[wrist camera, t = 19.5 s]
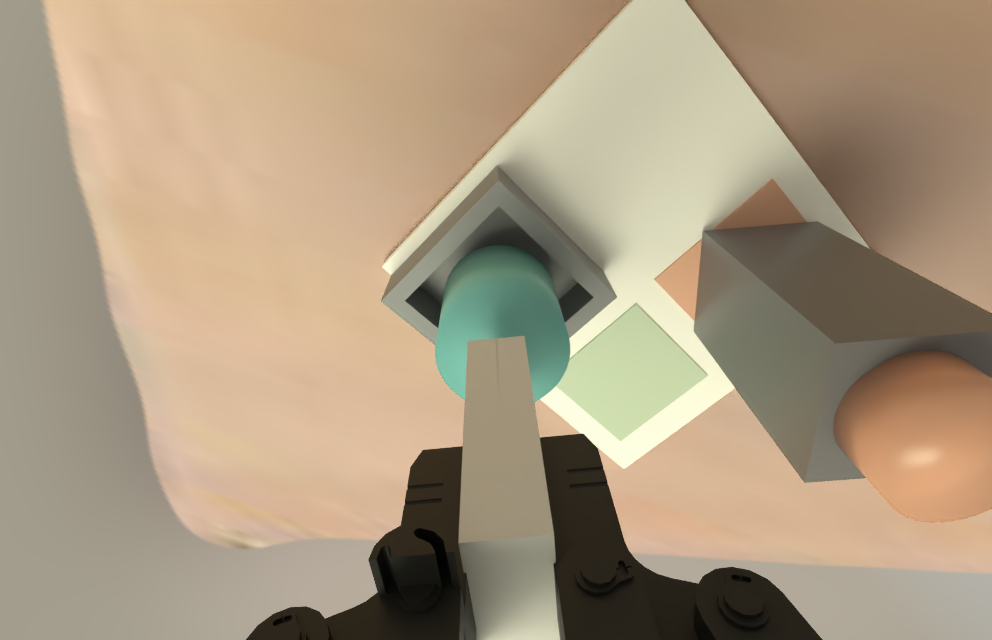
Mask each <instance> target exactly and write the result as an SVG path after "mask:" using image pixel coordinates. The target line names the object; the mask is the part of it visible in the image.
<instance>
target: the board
mask: <svg viewBox="0 0 992 640" xmlns="http://www.w3.org/2000/svg"><path fill="white" fill-rule="evenodd" d="M815 221H818V222H820V223H822V224H823V225H825V226H827V227H829V228H831V229H833V230H835V231H837V232H839V233H840V234H842V235H844V236H846V237H848V238H850V239H852V240H854V241H856V242H857V243H859V244H861V245H863V246H865V247H867V248H869V247H868V245H867V244H866V243H865V241H864V240H863V239H862V237H861V236H860V235H859V233H858V232H857V231H856V229H855V228H854V227H853V225H852V224H851V223H850V221H849V220H848V219H847V217H846V216H845V215H844V213H843V212H842V210H841V209H840V208H839V206H838V205H837V204H836V202H835V201H834V200H833V198H832V197H831V196H830V194H829V193H828V192H827V190H826V189H825V188H824V186H823V185H822V184H821V182H820V181H819V180H818V178H817V177H816V176H815V174H814V173H813V172H812V170H811V169H810V168H809V166H808V165H807V164H806V162H805V161H804V160H803V158H802V157H801V156H800V154H799V153H798V152H797V150H796V149H795V148H794V146H793V145H792V144H791V142H790V141H789V139H788V138H787V137H786V135H785V134H784V133H783V131H782V130H781V129H780V127H779V126H778V125H777V123H776V122H775V121H774V119H773V118H772V117H771V115H770V114H769V113H768V111H767V110H766V109H765V107H764V106H763V105H762V103H761V102H760V101H759V99H758V98H757V97H756V95H755V94H754V93H753V91H752V90H751V89H750V87H749V86H748V85H747V83H746V82H745V81H744V79H743V78H742V77H741V75H740V74H739V72H738V71H737V70H736V68H735V67H734V66H733V64H732V63H731V62H730V60H729V59H728V58H727V56H726V55H725V54H724V52H723V51H722V50H721V48H720V47H719V46H718V44H717V43H716V42H715V40H714V39H713V38H712V36H711V35H710V34H709V32H708V31H707V30H706V28H705V27H704V26H703V24H702V23H701V22H700V20H699V19H698V18H697V16H696V15H695V14H694V12H693V11H692V10H691V8H690V7H689V6H688V4H687V3H686V1H685V0H630V1H629V2H628V3H627V4H626V5H625V6H624V7H623V8H622V10H621V11H620V12H619V13H618V14H617V15H616V16H615V17H614V18H613V19H612V20H611V21H610V22H609V23H608V24H607V25H606V27H605V28H604V29H603V30H602V31H601V32H600V33H599V34H598V35H597V36H596V37H595V38H594V39H593V40H592V41H591V42H590V44H589V45H588V46H587V47H586V48H585V49H584V50H583V51H582V52H581V53H580V54H579V55H578V56H577V57H576V58H575V59H574V61H573V62H572V63H571V64H570V65H569V66H568V67H567V68H566V69H565V70H564V71H563V72H562V73H561V74H560V75H559V76H558V77H557V79H556V80H555V81H554V82H553V83H552V84H551V85H550V86H549V87H548V88H547V89H546V90H545V91H544V92H543V93H542V94H541V96H540V97H539V98H538V99H537V100H536V101H535V102H534V103H533V104H532V105H531V106H530V107H529V108H528V109H527V110H526V111H525V113H524V114H523V115H522V116H521V117H520V118H519V119H518V120H517V121H516V122H515V123H514V124H513V125H512V126H511V127H510V128H509V130H508V131H507V132H506V133H505V134H504V135H503V136H502V137H501V138H500V139H499V140H498V141H497V142H496V143H495V144H494V145H493V147H492V148H491V149H490V150H489V151H488V152H487V153H486V154H485V155H484V156H483V157H482V158H481V159H480V160H479V161H478V162H477V164H476V165H475V166H474V167H473V168H472V169H471V170H470V171H469V172H468V173H467V174H466V175H465V176H464V177H463V178H462V179H461V181H460V182H459V183H458V184H457V185H456V186H455V187H454V188H453V189H452V190H451V191H450V192H449V193H448V194H447V195H446V196H445V198H444V199H443V200H442V201H441V202H440V203H439V204H438V205H437V206H436V207H435V208H434V209H433V210H432V211H431V212H430V213H429V215H428V216H427V217H426V218H425V219H424V220H423V221H422V222H421V223H420V224H419V225H418V226H417V227H416V228H415V229H414V230H413V232H412V233H411V234H410V235H409V236H408V237H407V238H406V239H405V240H404V241H403V242H402V243H401V244H400V245H399V246H398V247H397V249H396V250H395V251H394V252H393V253H392V254H391V255H390V256H389V257H388V258H387V259H386V260H385V261H384V263H383V265H382V268H383V269H385V270H386V271H387V272H388V273H389V274H391V278H390V280H389V283H388V285H387V288H386V290H385V293H384V295H383V297H382V300H381V302H383V303H384V304H385V305H386V306H387V307H389V308H390V309H391V310H392V311H394V312H395V313H396V314H397V315H399V316H400V317H401V318H402V319H404V320H405V321H406V322H407V323H409V324H410V325H411V326H412V327H413V328H415V329H416V330H417V331H418V332H420V333H421V334H422V335H423V336H425V337H426V338H427V339H428V340H430V341H431V342H432V343H433V344H435V345H436V339H437V333H438V327H439V320H440V314H441V308H442V302H443V295H444V289H445V284H446V281H447V278H448V276H449V274H450V272H451V271H452V269H453V268H454V266H455V265H456V264H457V263H458V262H459V261H460V260H461V259H462V258H463V257H465V256H466V255H468V254H469V253H471V252H473V251H475V250H477V249H480V248H483V247H487V246H493V245H507V246H513V247H517V248H520V249H522V250H525V251H527V252H529V253H530V254H532V255H534V256H535V257H536V258H537V259H538V260H540V261H541V263H542V264H543V265H544V266H545V267H546V269H547V270H548V272H549V274H550V276H551V278H552V281H553V284H554V287H555V291H556V294H557V298H558V301H559V305H560V308H561V311H562V315H563V318H564V322H565V325H566V329H567V332H568V335H569V340H570V359H569V363H568V366H567V369H566V371H565V373H564V375H563V377H562V378H561V380H560V382H559V383H558V384H557V385H556V386H555V387H554V388H553V389H552V390H551V391H550V392H549V393H548V394H546V395H545V396H544V397H542V398H541V399H540V400H542V401H543V402H544V403H545V404H546V405H548V406H549V407H550V408H551V409H552V410H554V411H555V412H556V413H557V414H558V415H560V416H561V417H562V418H563V419H564V420H566V421H567V422H568V423H569V424H570V425H572V426H573V427H574V428H575V429H576V430H578V431H579V432H580V433H581V434H584V435H585V436H586V437H587V438H588V439H589V440H590V441H591V442H592V443H593V444H594V445H596V446H597V447H598V448H599V449H600V450H602V451H603V452H604V453H605V454H606V455H608V456H609V457H610V458H611V459H612V460H614V461H615V462H616V463H617V464H618V465H620V466H621V467H622V468H623V469H625V468H626V467H628V466H629V465H630V464H632V463H633V462H634V461H636V460H637V459H639V458H640V457H641V456H643V455H644V454H645V453H647V452H648V451H650V450H651V449H652V448H654V447H655V446H656V445H658V444H659V443H660V442H662V441H663V440H665V439H666V438H667V437H669V436H670V435H671V434H673V433H674V432H676V431H677V430H678V429H680V428H681V427H682V426H684V425H685V424H686V423H688V422H689V421H691V420H692V419H693V418H695V417H696V416H697V415H699V414H700V413H702V412H703V411H704V410H706V409H707V408H708V407H710V406H711V405H713V404H714V403H715V402H717V401H718V400H719V399H721V398H722V397H723V396H725V395H726V394H728V393H729V392H730V391H732V390H733V389H734V388H735V387H734V386H733V384H732V383H731V382H730V380H729V379H728V378H727V376H726V375H725V373H724V372H723V371H722V369H721V368H720V367H719V365H718V364H717V363H716V361H715V360H714V358H713V357H712V356H711V354H710V353H709V352H708V350H707V349H706V348H705V346H704V345H703V343H702V342H701V341H700V339H699V338H698V337H697V335H696V334H695V333H694V322H695V311H696V300H697V288H698V277H699V266H700V255H701V244H702V233H703V231H706V230H718V229H731V228H743V227H755V226H767V225H779V224H791V223H803V222H815ZM869 249H870V248H869Z"/></svg>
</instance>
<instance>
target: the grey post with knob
mask: <svg viewBox="0 0 992 640" xmlns="http://www.w3.org/2000/svg"><path fill="white" fill-rule="evenodd" d="M694 333H695V334H696V335H697V337H698V338H699V339H700V341H701V342H702V343H703V345H704V346H705V348H706V349H707V350H708V352H709V353H710V354H711V356H712V357H713V358H714V360H715V361H716V363H717V364H718V365H719V367H720V368H721V369H722V371H723V372H724V373H725V375H726V376H727V378H728V379H729V380H730V382H731V383H732V384H733V386H734V387H735V388H736V390H737V391H738V393H739V394H740V395H741V397H742V398H743V399H744V401H745V402H746V404H747V405H748V406H749V408H750V409H751V410H752V412H753V413H754V414H755V416H756V417H757V419H758V420H759V421H760V423H761V424H762V425H763V427H764V428H765V429H766V431H767V432H768V434H769V435H770V436H771V438H772V439H773V440H774V442H775V443H776V444H777V446H778V447H779V449H780V450H781V451H782V453H783V454H784V455H785V457H786V458H787V459H788V461H789V462H790V464H791V465H792V466H793V468H794V469H795V470H796V472H797V473H798V474H799V476H800V477H801V479H802V480H803V481H804V483H806V482H819V481H833V480H846V479H860V478H867V479H868V481H869V482H870V483H871V484H872V485H873V486H874V487H875V489H876V490H877V491H878V492H879V493H880V494H881V495H882V496H883V498H884V499H885V500H886V501H887V502H888V503H889V504H890V505H891V507H892V508H893V509H894V510H896V511H897V512H898V513H900V514H901V515H903V516H905V517H907V518H910V519H914V520H917V521H923V522H949V521H955V520H960V519H965V518H968V517H972V516H975V515H977V514H980V513H983V512H985V511H987V510H989V509H992V313H990V312H988V311H986V310H984V309H982V308H980V307H978V306H977V305H975V304H973V303H971V302H969V301H967V300H965V299H963V298H961V297H960V296H958V295H956V294H954V293H952V292H950V291H948V290H946V289H944V288H943V287H941V286H939V285H937V284H935V283H933V282H931V281H929V280H927V279H926V278H924V277H922V276H920V275H918V274H916V273H914V272H912V271H910V270H909V269H907V268H905V267H903V266H901V265H899V264H897V263H895V262H893V261H892V260H890V259H888V258H886V257H884V256H882V255H880V254H878V253H876V252H874V251H873V250H871V249H869V248H867V247H865V246H863V245H861V244H859V243H857V242H856V241H854V240H852V239H850V238H848V237H846V236H844V235H842V234H840V233H839V232H837V231H835V230H833V229H831V228H829V227H827V226H825V225H823V224H822V223H820V222H818V221H815V222H803V223H791V224H779V225H767V226H755V227H743V228H731V229H718V230H706V231H703V233H702V244H701V255H700V266H699V277H698V288H697V300H696V311H695V322H694Z"/></svg>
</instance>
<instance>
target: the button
mask: <svg viewBox="0 0 992 640" xmlns="http://www.w3.org/2000/svg"><path fill="white" fill-rule="evenodd" d="M516 336H525V343H526V349H527V356H528V363H529V370H530V376H531V383H532V390H533V396H534V402H535V401H537V400H539V399H541V398H542V397H544V396H545V395H546V394H548V393H549V392H550V391H551V390H552V389H553V388H554V387H555V386H556V385H557V384H558V383H559V382H560V380H561V378H562V377H563V375H564V373H565V371H566V369H567V366H568V363H569V359H570V340H569V335H568V332H567V329H566V325H565V322H564V318H563V315H562V311H561V308H560V305H559V301H558V298H557V294H556V291H555V287H554V284H553V281H552V278H551V276H550V274H549V272H548V270H547V269H546V267H545V266H544V265H543V264H542V263H541V261H540V260H538V259H537V258H536V257H535V256H534V255H532V254H530V253H529V252H527V251H525V250H522V249H520V248H517V247H513V246H507V245H493V246H487V247H483V248H480V249H477V250H475V251H473V252H471V253H469V254H468V255H466V256H465V257H463V258H462V259H461V260H460V261H459V262H458V263H457V264H456V265H455V266H454V268H453V269H452V271H451V272H450V274H449V276H448V278H447V281H446V284H445V289H444V295H443V302H442V308H441V314H440V320H439V327H438V333H437V339H436V345H435V357H436V363H437V367H438V370H439V372H440V374H441V376H442V378H443V379H444V381H445V382H446V384H447V385H448V386H449V387H450V388H451V389H452V390H453V391H454V392H455V393H456V394H457V395H459V396H460V397H462V398H463V399H465V387H466V365H467V343H468V341H475V340H485V339H495V338H505V337H516Z"/></svg>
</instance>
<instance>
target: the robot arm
mask: <svg viewBox="0 0 992 640" xmlns="http://www.w3.org/2000/svg"><path fill="white" fill-rule="evenodd" d="M369 563H370V566H371V570H372V573H373V577H374V580H375V584H376V587H377V591H378V593H376V594H375V595H374V596H372V597H371V598H370V599H369V600H367V601H366V602H364V603H362V604H360V605H358V606H356V607H354V608H352V609H349V610H346V611H344V612H341V613H338V614H336V615H333V616H331V617H328V618H326V619H325V618H324V617H323V616H322V615H321V613H320V612H319V611H316V610H314V609H311V608H309V607H290V608H288V609H285V610H283V611H280V612H277V613H275V614H273V615H272V616H270V617H269V618H267V619H266V620H265V621H263V622H262V623H261V624H259V625H258V626H257V627H256V628H255V629H254V631H253V632H252V633H251V634H250V635H249V637H248V638H247V639H246V640H822V639H821V638H820V636H819V635H818V634H817V633H816V632H815V631H814V629H813V628H812V627H811V626H810V625H809V624H808V622H807V621H806V620H805V619H804V618H803V616H802V615H801V614H800V613H799V612H798V610H797V609H796V608H795V607H794V606H793V604H792V603H791V602H790V601H789V600H788V599H787V597H786V596H785V595H784V594H783V593H782V592H781V591H780V590H779V589H778V588H777V587H776V586H775V585H773V584H772V583H771V582H770V581H769V580H768V579H766V578H764V577H762V576H760V575H758V574H756V573H754V572H752V571H750V570H745V569H740V568H735V567H728V568H719V569H715V570H713V571H711V572H710V573H708V574H706V575H704V576H703V577H702V579H701V581H700V582H699V584H697V583H692V582H687V581H682V580H678V579H673V578H669V577H665V576H662V575H659V574H656V573H655V572H653V571H651V570H649V569H647V568H645V567H644V566H643V565H642V564H640V563H639V562H638V561H637V560H636V559H635V558H634V557H633V556H632V554H631V553H630V552H629V550H628V548H627V546H626V544H625V541H624V538H623V535H622V531H621V528H620V524H619V521H618V517H617V514H616V510H615V507H614V503H613V500H612V496H611V493H610V490H609V486H608V484H607V479H606V476H605V472H604V470H603V465H602V462H601V458H600V455H599V451H598V448H597V447H596V446H595V445H594V444H593V443H592V442H591V441H590V440H589V439H588V438H587V437H586V436H585V435H584V434H575V435H564V436H553V437H542V438H540V437H539V430H538V423H537V417H536V410H535V403H534V396H533V390H532V383H531V376H530V370H529V363H528V356H527V349H526V343H525V336H516V337H505V338H495V339H485V340H475V341H468V343H467V365H466V387H465V409H464V431H463V446H462V447H451V448H441V449H430V450H423V451H422V452H421V453H420V455H419V456H418V458H417V459H416V460H415V462H414V463H413V465H412V466H411V468H410V474H409V480H408V490H407V492H406V498H405V505H404V510H403V516H402V522H401V526H399V527H397V528H396V529H394V530H392V531H390V532H389V533H387V534H385V535H384V536H383V538H382V539H381V540H380V541H379V542H378V543H377V544H376V545H375V546H374V548H373V551H372V553H371V555H370V557H369Z"/></svg>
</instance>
